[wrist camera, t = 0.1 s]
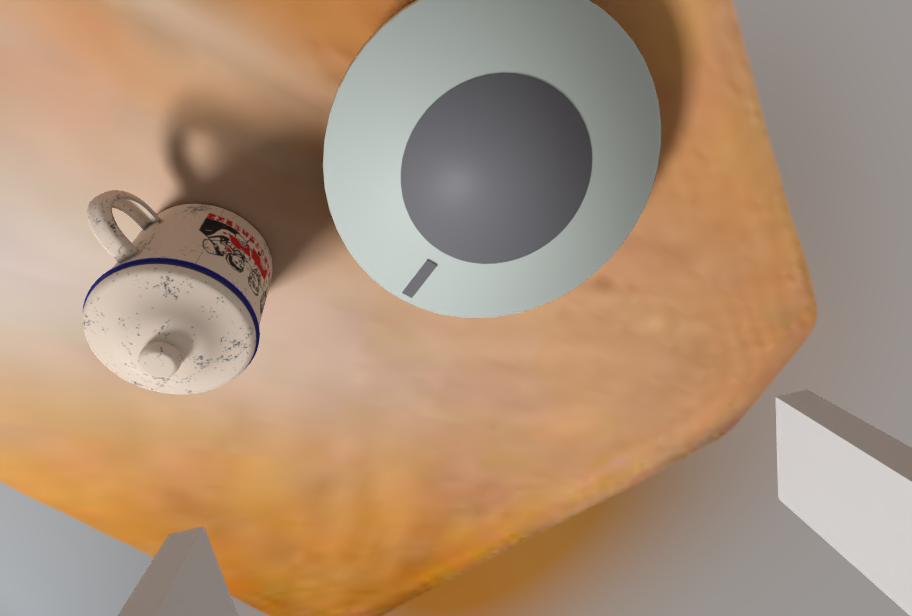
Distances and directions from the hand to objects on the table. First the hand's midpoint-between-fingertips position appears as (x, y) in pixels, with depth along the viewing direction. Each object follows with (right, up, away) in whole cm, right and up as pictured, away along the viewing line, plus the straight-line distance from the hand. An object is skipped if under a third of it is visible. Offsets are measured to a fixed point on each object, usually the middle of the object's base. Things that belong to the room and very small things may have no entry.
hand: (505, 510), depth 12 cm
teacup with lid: (-19, +9, +24) cm, 32 cm away
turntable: (+1, +13, +22) cm, 26 cm away
